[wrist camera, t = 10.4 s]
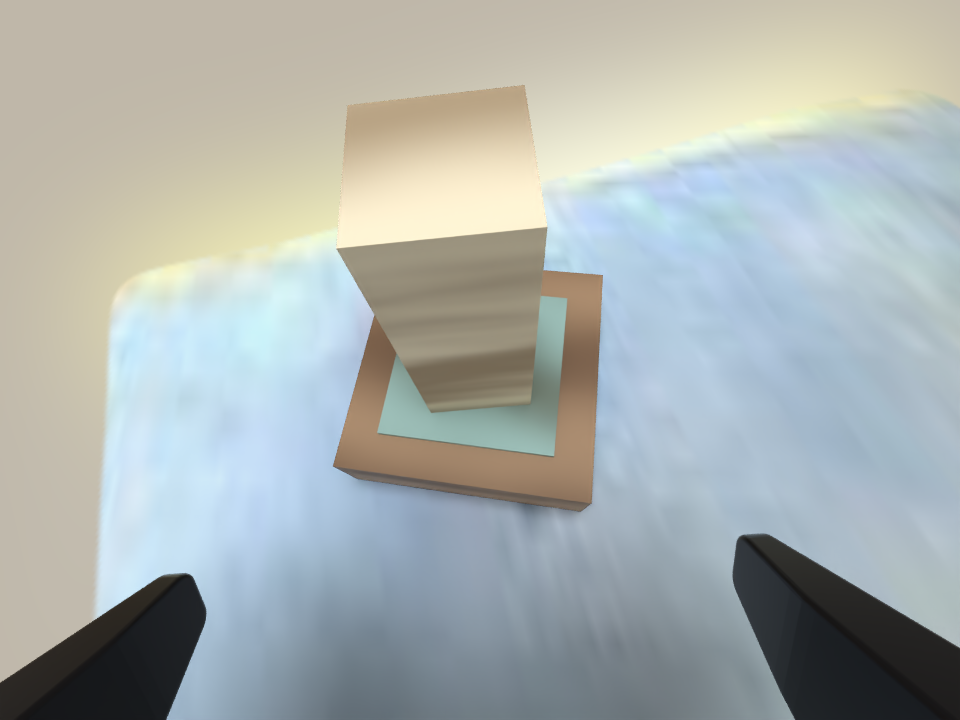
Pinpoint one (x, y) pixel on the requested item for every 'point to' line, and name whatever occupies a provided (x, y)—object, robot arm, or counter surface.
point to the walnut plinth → (489, 416)
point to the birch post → (449, 239)
